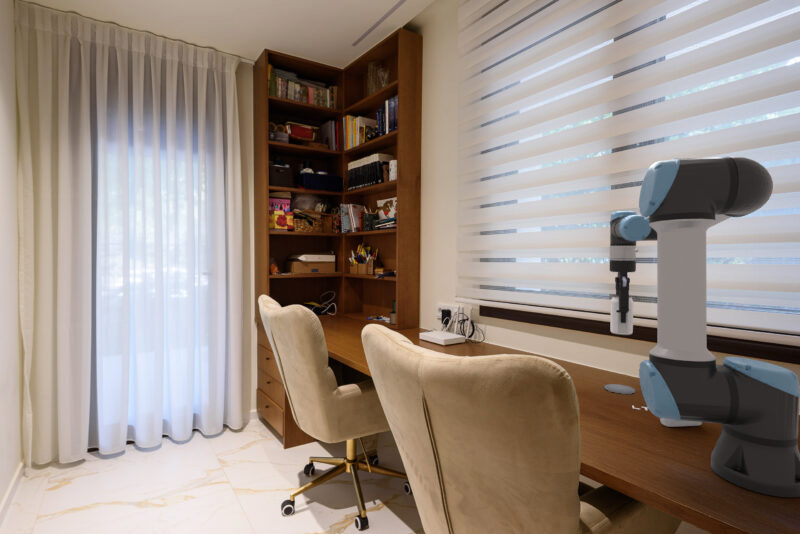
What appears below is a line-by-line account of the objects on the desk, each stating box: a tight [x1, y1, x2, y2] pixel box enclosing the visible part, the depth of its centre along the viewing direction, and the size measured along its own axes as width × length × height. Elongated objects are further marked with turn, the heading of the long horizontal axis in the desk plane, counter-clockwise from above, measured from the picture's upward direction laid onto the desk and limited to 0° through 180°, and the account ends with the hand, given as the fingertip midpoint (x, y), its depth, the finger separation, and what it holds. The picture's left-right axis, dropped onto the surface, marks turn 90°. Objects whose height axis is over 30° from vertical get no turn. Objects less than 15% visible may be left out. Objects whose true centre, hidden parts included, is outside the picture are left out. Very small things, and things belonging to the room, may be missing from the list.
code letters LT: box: [631, 405, 649, 411], centre depth 124 cm, size 2×4×1 cm, turn 68°
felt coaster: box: [603, 383, 636, 395], centre depth 140 cm, size 9×9×1 cm
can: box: [609, 294, 634, 336], centre depth 138 cm, size 6×6×12 cm
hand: (621, 330), depth 139 cm, fingers closed on can, 6 cm apart
